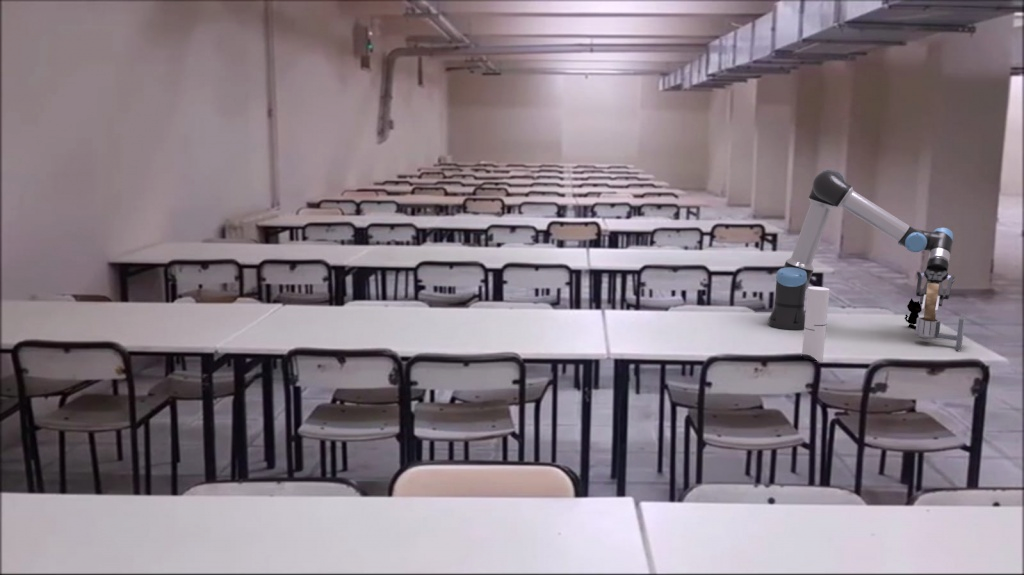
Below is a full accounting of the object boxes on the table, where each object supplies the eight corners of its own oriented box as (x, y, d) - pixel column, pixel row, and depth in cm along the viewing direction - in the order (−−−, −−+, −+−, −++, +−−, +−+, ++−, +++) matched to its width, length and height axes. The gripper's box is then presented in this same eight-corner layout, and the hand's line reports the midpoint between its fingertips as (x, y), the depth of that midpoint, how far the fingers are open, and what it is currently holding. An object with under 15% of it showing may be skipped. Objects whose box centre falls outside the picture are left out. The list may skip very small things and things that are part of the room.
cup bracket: (912, 345, 343) (916, 314, 341) (916, 339, 353) (919, 309, 351) (959, 351, 335) (963, 319, 333) (961, 345, 345) (965, 314, 343)
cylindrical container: (824, 361, 313) (830, 290, 309) (802, 360, 315) (809, 289, 310) (821, 356, 320) (827, 287, 316) (800, 355, 322) (806, 286, 317)
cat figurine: (924, 329, 371) (927, 301, 369) (908, 329, 371) (911, 300, 369) (915, 325, 378) (918, 297, 376) (899, 325, 378) (902, 297, 376)
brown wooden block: (922, 325, 344) (926, 284, 341) (923, 323, 347) (927, 282, 345) (933, 327, 342) (938, 285, 339) (934, 325, 345) (939, 283, 343)
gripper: (962, 270, 350) (954, 319, 339) (914, 266, 358) (905, 314, 347) (962, 258, 345) (954, 308, 333) (914, 254, 353) (904, 302, 342)
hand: (929, 311), depth 340 cm, fingers closed on brown wooden block, 4 cm apart
